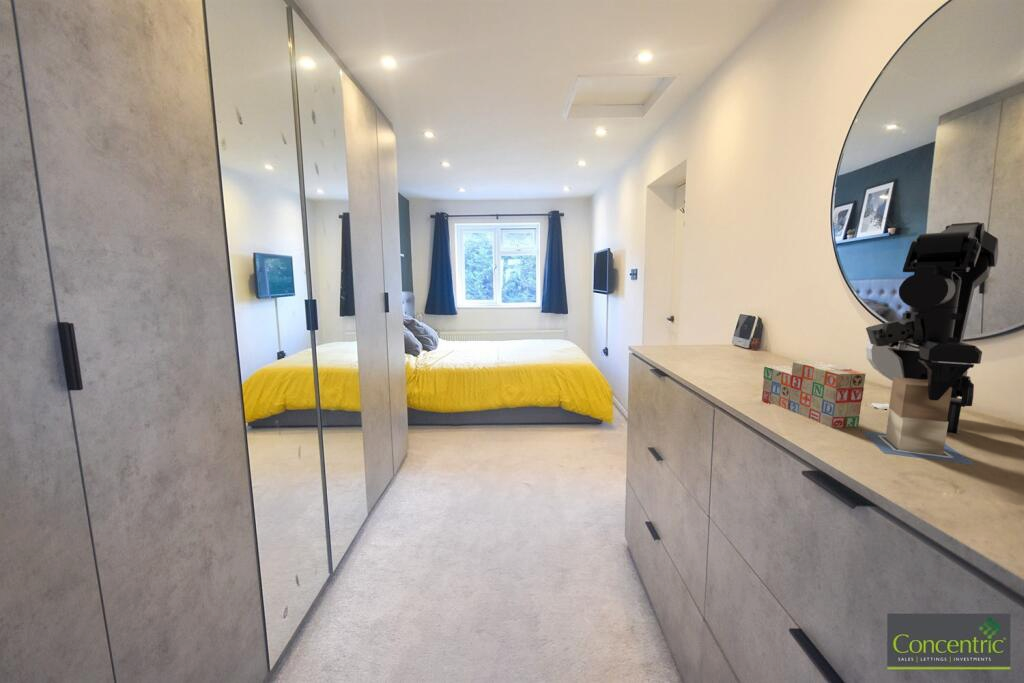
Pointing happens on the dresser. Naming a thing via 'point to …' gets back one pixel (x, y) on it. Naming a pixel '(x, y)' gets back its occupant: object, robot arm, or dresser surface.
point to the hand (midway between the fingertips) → (920, 393)
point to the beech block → (916, 434)
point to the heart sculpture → (883, 364)
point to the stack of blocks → (816, 391)
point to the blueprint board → (889, 448)
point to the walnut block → (917, 400)
